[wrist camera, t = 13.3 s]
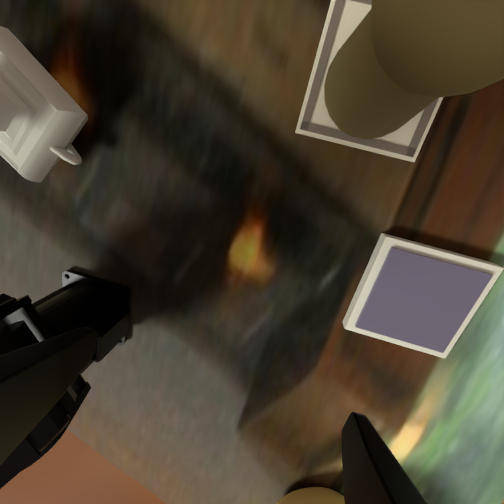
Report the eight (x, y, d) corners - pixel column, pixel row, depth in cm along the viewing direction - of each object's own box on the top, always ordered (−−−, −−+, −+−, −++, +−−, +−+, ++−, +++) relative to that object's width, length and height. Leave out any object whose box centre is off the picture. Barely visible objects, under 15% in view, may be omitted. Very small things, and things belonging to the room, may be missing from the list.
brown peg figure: (353, 8, 15) (487, -350, 5) (452, 46, 15) (822, -232, 4) (307, 118, 17) (329, 45, 7) (394, 153, 17) (554, 133, 6)
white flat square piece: (295, 132, 18) (295, 132, 17) (336, -17, 15) (337, -22, 14) (412, 162, 17) (415, 162, 17) (478, 13, 14) (483, 9, 14)
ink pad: (342, 321, 22) (345, 331, 21) (381, 232, 19) (387, 237, 18) (438, 349, 21) (447, 361, 20) (493, 262, 18) (507, 270, 17)
